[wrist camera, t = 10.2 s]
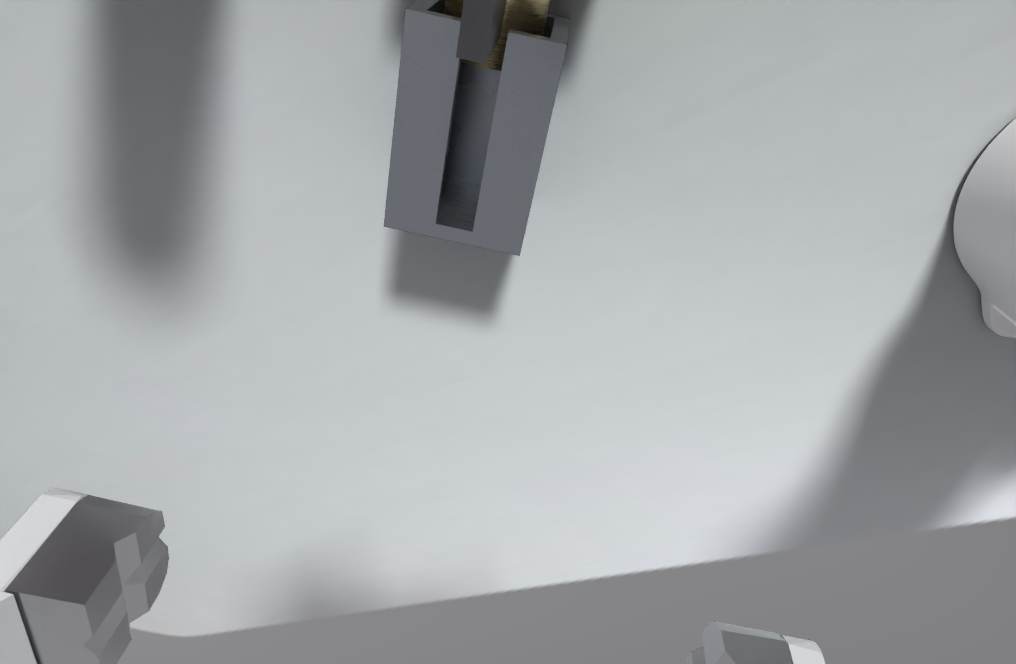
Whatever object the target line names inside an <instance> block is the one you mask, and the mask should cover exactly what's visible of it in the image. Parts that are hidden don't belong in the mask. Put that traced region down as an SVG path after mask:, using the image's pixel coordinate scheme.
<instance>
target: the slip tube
mask: <svg viewBox="0 0 1016 664" xmlns="http://www.w3.org/2000/svg"><path fill="white" fill-rule="evenodd" d="M549 4H550V0H446V1H445V9H444V14H445V15H450V16H454V17H459V18H461V23H460V30H459V38H458V45H457V52H456V58H461V62H464V63H467V64H470V65H474V66H478V67H482V68H487V69H492V70H498V71H501V70H502V65H503V59H504V54H505V48H506V42H507V37H508V32H509V30H510V29H512V30H516V31H521V32H525V33H530V34H534V35H539V36H543V33H544V28H545V23H546V18H547V13H548V8H549Z"/></svg>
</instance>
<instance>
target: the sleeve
mask: <svg viewBox="0 0 1016 664" xmlns="http://www.w3.org/2000/svg"><path fill="white" fill-rule="evenodd" d="M445 1H446V0H418V1H416V2H415V3H414V4H412V5H411V6H409V7H408V8H406V9H405V19H404V29H403V39H402V49H401V59H400V69H399V79H398V89H397V99H396V109H395V119H394V129H393V139H392V149H391V159H390V169H389V179H388V189H387V199H386V209H385V219H384V227H388V228H393V229H398V230H402V231H407V232H412V233H416V234H421V235H426V236H430V237H435V238H439V239H444V240H449V241H453V242H458V243H463V244H467V245H472V246H476V247H481V248H486V249H490V250H495V251H500V252H504V253H509V254H513V255H518V256H520V252H521V247H522V243H523V239H524V234H525V230H526V225H527V221H528V216H529V212H530V208H531V203H532V199H533V194H534V190H535V185H536V181H537V177H538V172H539V168H540V163H541V159H542V154H543V150H544V145H545V141H546V137H547V132H548V128H549V123H550V119H551V114H552V110H553V106H554V101H555V97H556V92H557V88H558V83H559V79H560V75H561V70H562V66H563V61H564V57H565V52H566V48H567V42H568V32H569V23H570V19H568V18H563V17H559V16H554V15H550V14H547V18H546V23H545V28H544V33H543V36H539V35H534V34H530V33H525V32H521V31H516V30H512V29H510V30H509V32H508V37H507V42H506V48H505V54H504V59H503V65H502V70H501V71H498V70H492V69H487V68H482V67H478V66H474V65H470V64H467V63H464V62H461V58H456V52H457V45H458V38H459V30H460V23H461V18H459V17H454V16H450V15H445V14H444V9H445Z"/></svg>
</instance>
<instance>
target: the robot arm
mask: <svg viewBox="0 0 1016 664" xmlns="http://www.w3.org/2000/svg"><path fill="white" fill-rule="evenodd" d="M953 232H954V242H955V247H956V251H957V254H958V257H959V259H960V261H961V263H962V265H963V267H964V269H965V270H966V272H967V273H968V274H969V275H970V277H971V278H972V279H973V281H974V282H975V283H976V285H977V286H978V288H979V290H980V292H981V303H982V314H983V319H984V322H985V324H986V325H987V327H989V328H990V329H991V330H992V331H994V332H995V333H996V334H998V335H1000V336H1003V337H1013V338H1016V119H1014V120H1013V121H1012V122H1011V123H1010V124H1009V125H1008V126H1007V127H1006V128H1005V129H1004V130H1003V131H1002V132H1001V133H1000V134H999V135H998V136H997V137H996V138H995V139H994V140H993V141H992V142H991V143H990V145H989V146H988V147H987V148H986V150H985V151H984V152H983V153H982V155H981V156H980V158H979V159H978V160H977V162H976V163H975V165H974V167H973V168H972V170H971V172H970V173H969V175H968V177H967V179H966V181H965V183H964V185H963V188H962V190H961V193H960V195H959V199H958V202H957V205H956V210H955V216H954V227H953ZM164 527H165V524H164V519H163V514H162V511H159V510H154V509H150V508H145V507H141V506H136V505H132V504H127V503H122V502H118V501H113V500H109V499H104V498H100V497H95V496H91V495H87V494H82V493H78V492H73V491H68V490H63V489H58V488H52V489H50V490H49V491H47V492H45V493H44V494H42V495H40V496H39V497H38V498H37V499H36V501H35V502H34V503H33V504H32V505H31V506H30V507H29V508H28V509H27V511H26V512H25V513H24V514H23V515H22V516H21V517H20V518H19V519H18V521H17V522H16V523H15V524H14V525H13V526H12V527H11V528H10V529H9V531H8V532H7V533H6V534H5V535H4V536H3V537H2V538H1V539H0V664H117V663H118V661H119V660H120V658H121V656H122V655H123V653H124V652H125V650H126V648H127V647H128V645H129V643H130V642H131V640H132V639H131V631H130V624H129V623H130V622H132V621H134V620H135V619H137V618H139V617H140V616H142V615H143V614H145V613H147V612H148V611H149V610H150V608H151V607H152V605H153V603H154V601H155V600H156V598H157V596H158V594H159V593H160V590H161V587H162V584H163V582H164V579H165V576H166V574H167V568H168V560H169V555H168V547H167V546H166V545H165V543H164V542H163V541H162V540H161V539H160V538H159V535H160V533H161V532H162V530H163V529H164ZM702 640H703V647H701V648H698V649H696V650H694V651H692V652H691V653H690V655H689V657H688V659H687V661H686V663H685V664H825V661H824V658H823V655H822V651H821V649H820V648H819V646H818V645H817V644H816V642H814V641H811V640H807V639H801V638H796V637H791V636H784V635H779V634H777V633H775V632H770V631H764V630H759V629H754V628H748V627H743V626H738V625H732V624H727V623H721V622H716V621H713V622H711V623H709V624H708V625H707V626H706V628H705V630H704V631H703V633H702Z"/></svg>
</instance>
